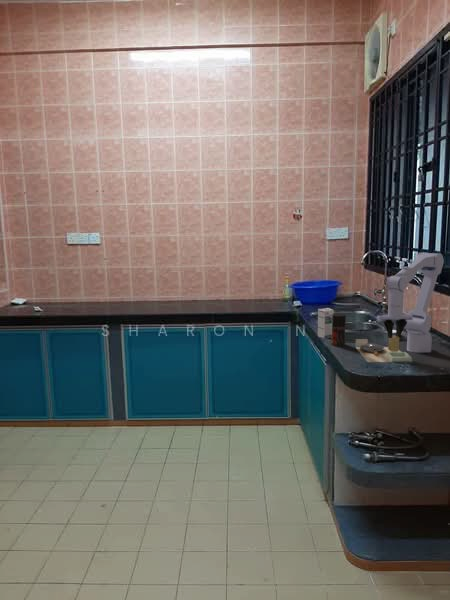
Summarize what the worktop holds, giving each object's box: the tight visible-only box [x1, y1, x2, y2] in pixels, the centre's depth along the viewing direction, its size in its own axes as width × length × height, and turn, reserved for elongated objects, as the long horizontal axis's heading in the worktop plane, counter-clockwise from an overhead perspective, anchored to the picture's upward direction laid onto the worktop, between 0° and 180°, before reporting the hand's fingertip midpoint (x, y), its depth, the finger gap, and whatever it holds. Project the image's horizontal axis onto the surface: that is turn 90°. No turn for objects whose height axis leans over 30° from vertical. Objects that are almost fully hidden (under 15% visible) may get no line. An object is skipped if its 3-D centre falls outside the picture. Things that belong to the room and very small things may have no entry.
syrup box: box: [317, 307, 335, 339], centre depth 220 cm, size 6×6×14 cm
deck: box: [355, 346, 402, 363], centre depth 188 cm, size 18×22×1 cm
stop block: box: [387, 334, 400, 351], centre depth 182 cm, size 3×3×6 cm
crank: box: [354, 338, 385, 355], centre depth 193 cm, size 13×12×4 cm
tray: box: [386, 351, 413, 363], centre depth 181 cm, size 8×8×2 cm
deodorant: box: [331, 313, 347, 347], centre depth 203 cm, size 6×6×15 cm
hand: (394, 337), depth 182 cm, fingers closed on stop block, 3 cm apart
